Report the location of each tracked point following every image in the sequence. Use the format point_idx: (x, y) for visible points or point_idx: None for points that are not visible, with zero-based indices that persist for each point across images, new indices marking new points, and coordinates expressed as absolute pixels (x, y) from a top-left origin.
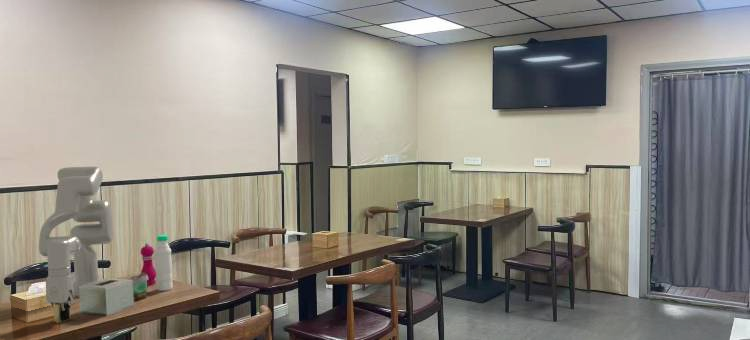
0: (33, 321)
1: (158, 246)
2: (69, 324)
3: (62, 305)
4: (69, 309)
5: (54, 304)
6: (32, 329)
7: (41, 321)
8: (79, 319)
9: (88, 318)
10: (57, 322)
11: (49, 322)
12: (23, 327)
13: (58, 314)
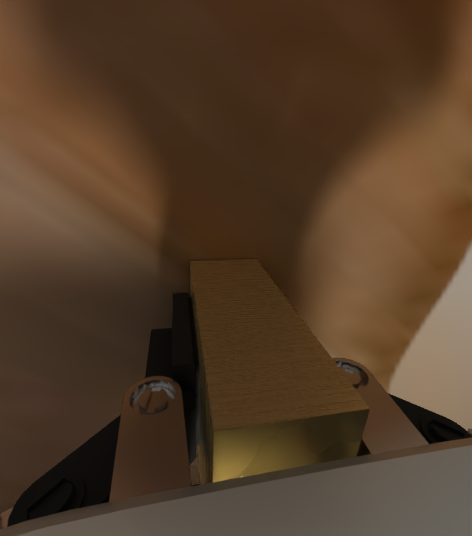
0: (468, 221)
1: None
2: (20, 264)
3: (150, 462)
4: (198, 454)
5: (326, 412)
6: None
7: (399, 243)
8: (96, 396)
9: (41, 439)
10: (210, 261)
11: (303, 245)
12: (455, 22)
13: (196, 305)
